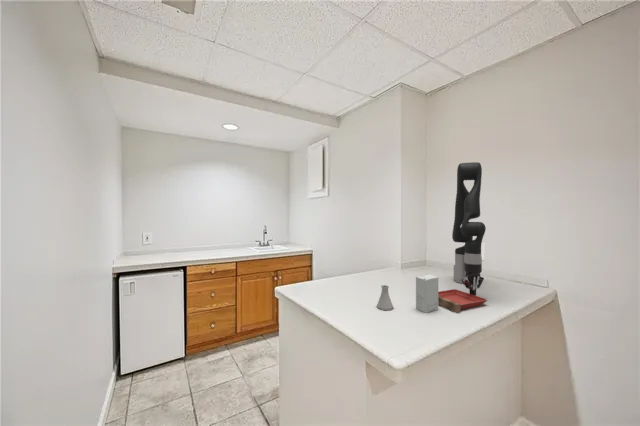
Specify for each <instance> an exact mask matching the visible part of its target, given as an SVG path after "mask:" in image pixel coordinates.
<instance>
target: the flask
mask: <svg viewBox="0 0 640 426" xmlns="http://www.w3.org/2000/svg"><path fill="white" fill-rule="evenodd" d="M380 287H381V293H380V297H379V299H378V301H377V304H376V306H375V307H376V308H377V309H379V310H382V311H392V310H393V309H394V306H393V303H392V299H391V298H390V294H389V285H386V284H384V285H383V284H382V285H380Z"/></svg>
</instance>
